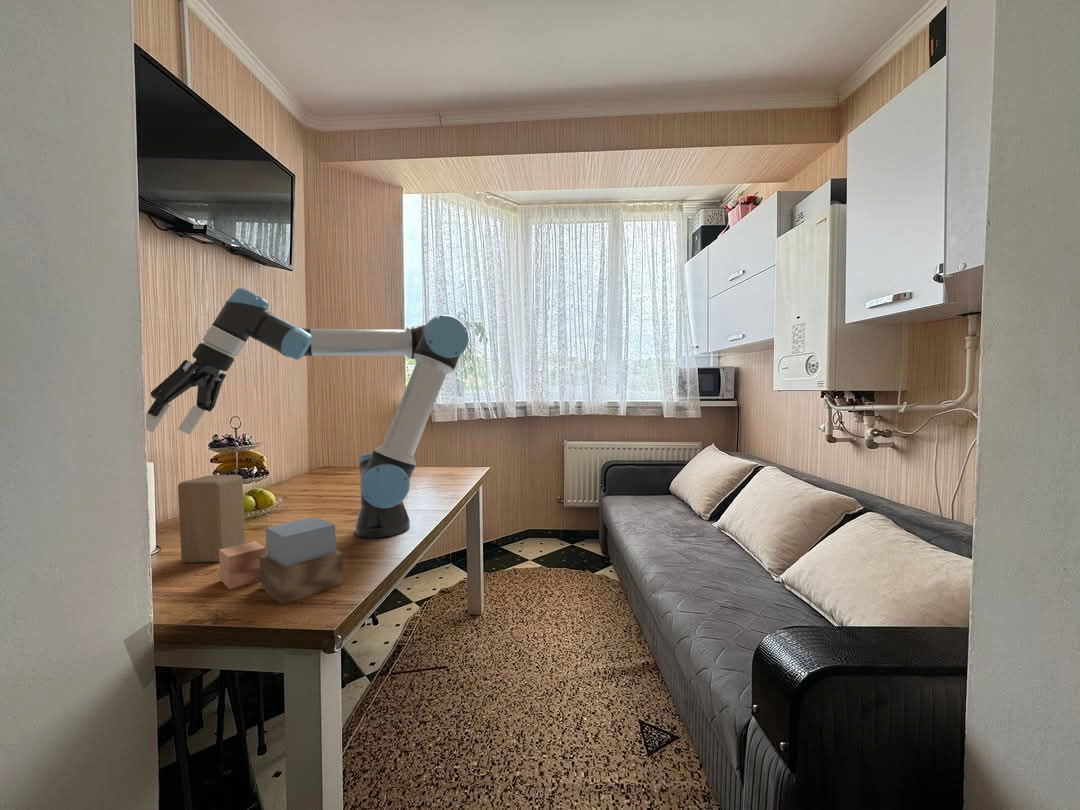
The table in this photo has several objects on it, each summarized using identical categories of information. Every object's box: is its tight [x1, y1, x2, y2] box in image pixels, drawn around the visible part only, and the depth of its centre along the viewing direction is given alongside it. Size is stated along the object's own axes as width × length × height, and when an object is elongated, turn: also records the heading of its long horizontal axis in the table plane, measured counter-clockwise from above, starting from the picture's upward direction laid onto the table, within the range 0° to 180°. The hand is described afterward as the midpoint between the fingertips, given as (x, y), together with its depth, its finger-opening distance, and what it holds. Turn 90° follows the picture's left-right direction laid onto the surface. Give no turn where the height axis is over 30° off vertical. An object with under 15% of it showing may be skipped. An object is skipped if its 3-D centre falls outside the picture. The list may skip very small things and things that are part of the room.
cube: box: [219, 540, 267, 590], centre depth 100 cm, size 7×7×7 cm
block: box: [177, 474, 246, 563], centre depth 115 cm, size 10×10×20 cm
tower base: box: [259, 549, 345, 605], centre depth 96 cm, size 12×12×7 cm
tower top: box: [265, 516, 337, 567], centre depth 96 cm, size 10×10×6 cm
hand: (165, 430), depth 102 cm, fingers open, 13 cm apart
